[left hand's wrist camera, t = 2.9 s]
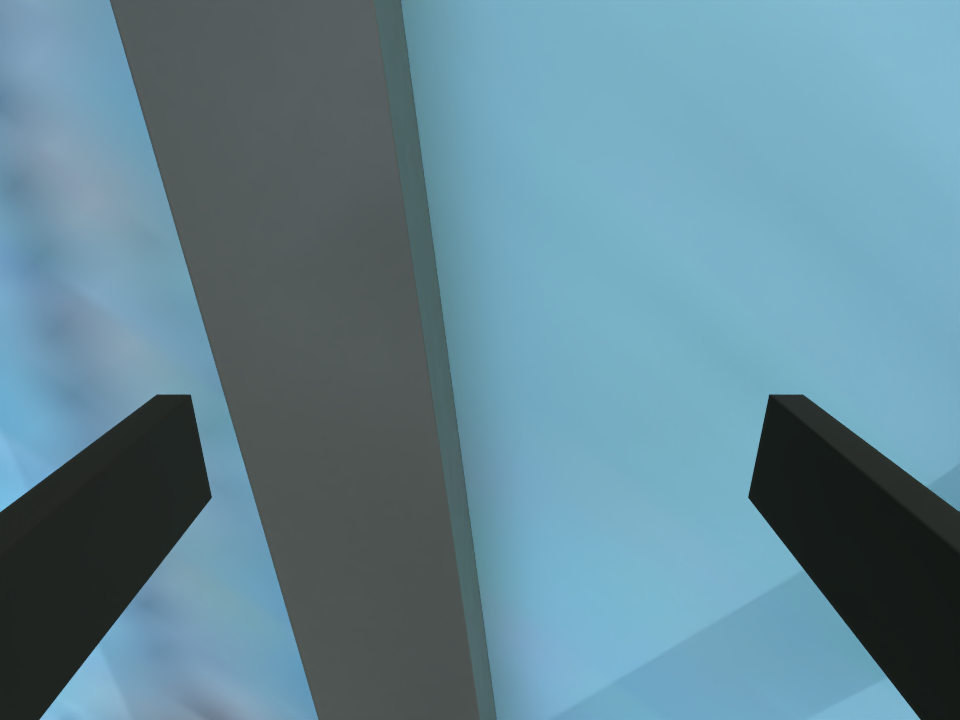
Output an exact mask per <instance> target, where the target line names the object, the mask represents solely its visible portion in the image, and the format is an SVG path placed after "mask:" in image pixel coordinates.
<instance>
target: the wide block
mask: <svg viewBox="0 0 960 720" xmlns="http://www.w3.org/2000/svg"><path fill="white" fill-rule="evenodd" d="M110 2H111V6H112V9H113V12H114V16H115V19H116V23H117V26H118V30H119V33H120V37H121V40H122V43H123V47H124V50H125V54H126V57H127V61H128V64H129V68H130V71H131V74H132V78H133V81H134V85H135V88H136V92H137V95H138V99H139V102H140V105H141V109H142V112H143V116H144V119H145V123H146V126H147V130H148V133H149V136H150V140H151V143H152V147H153V150H154V154H155V157H156V161H157V164H158V168H159V171H160V174H161V178H162V181H163V185H164V188H165V192H166V195H167V199H168V202H169V205H170V209H171V212H172V216H173V219H174V223H175V226H176V230H177V233H178V236H179V240H180V243H181V247H182V250H183V254H184V257H185V261H186V264H187V267H188V271H189V274H190V278H191V281H192V285H193V288H194V292H195V295H196V298H197V302H198V305H199V309H200V312H201V316H202V319H203V323H204V326H205V330H206V333H207V336H208V340H209V343H210V347H211V350H212V354H213V357H214V361H215V364H216V367H217V371H218V374H219V378H220V381H221V385H222V388H223V392H224V395H225V398H226V402H227V405H228V409H229V412H230V416H231V419H232V423H233V426H234V429H235V433H236V436H237V440H238V443H239V447H240V450H241V454H242V457H243V460H244V464H245V467H246V471H247V474H248V478H249V481H250V485H251V488H252V492H253V495H254V498H255V502H256V505H257V509H258V512H259V516H260V519H261V523H262V526H263V529H264V533H265V536H266V540H267V543H268V547H269V550H270V554H271V557H272V560H273V564H274V567H275V571H276V574H277V578H278V581H279V585H280V588H281V591H282V595H283V598H284V602H285V605H286V609H287V612H288V616H289V619H290V622H291V626H292V629H293V633H294V636H295V640H296V643H297V647H298V650H299V654H300V657H301V660H302V664H303V667H304V671H305V674H306V678H307V681H308V685H309V688H310V691H311V695H312V698H313V702H314V705H315V709H316V712H317V716H318V719H319V720H497V719H496V712H495V704H494V697H493V689H492V682H491V674H490V667H489V659H488V652H487V644H486V637H485V629H484V622H483V614H482V607H481V599H480V592H479V584H478V577H477V569H476V562H475V554H474V547H473V539H472V532H471V524H470V517H469V509H468V502H467V494H466V487H465V479H464V472H463V464H462V457H461V449H460V442H459V434H458V427H457V419H456V412H455V404H454V397H453V389H452V382H451V374H450V367H449V359H448V352H447V344H446V337H445V329H444V322H443V314H442V307H441V299H440V292H439V284H438V277H437V269H436V262H435V254H434V247H433V239H432V232H431V224H430V217H429V209H428V202H427V194H426V187H425V179H424V172H423V164H422V157H421V149H420V142H419V134H418V127H417V119H416V112H415V104H414V97H413V89H412V82H411V74H410V67H409V59H408V52H407V44H406V37H405V29H404V22H403V14H402V7H401V0H110Z"/></svg>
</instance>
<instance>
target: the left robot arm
mask: <svg viewBox="0 0 960 720" xmlns="http://www.w3.org/2000/svg"><path fill="white" fill-rule="evenodd" d="M211 498H212V496H211V491H210V487H209V482H208V477H207V472H206V467H205V462H204V457H203V452H202V448H201V443H200V438H199V433H198V428H197V423H196V418H195V413H194V409H193V404H192V399H191V395H156V396H155V397H153V398H152V399H151V400H149V401H148V402H147V403H145V404H144V405H143V406H141V407H140V408H139V409H137V410H136V411H135V412H133V413H132V414H131V415H129V416H128V417H127V418H125V419H124V420H123V421H121V422H120V423H119V424H117V425H116V426H115V427H113V428H112V429H111V430H109V431H108V432H107V433H105V434H104V435H103V436H101V437H100V438H99V439H97V440H96V441H95V442H93V443H92V444H91V445H89V446H88V447H87V448H85V449H84V450H83V451H81V452H80V453H79V454H77V455H76V456H75V457H73V458H72V459H71V460H69V461H68V462H67V463H65V464H64V465H63V466H61V467H60V468H59V469H57V470H56V471H55V472H53V473H52V474H51V475H49V476H48V477H47V478H45V479H44V480H43V481H41V482H40V483H39V484H37V485H36V486H35V487H33V488H32V489H31V490H29V491H28V492H27V493H25V494H24V495H23V496H21V497H20V498H19V499H17V500H16V501H15V502H13V503H12V504H11V505H9V506H8V507H7V508H5V509H4V510H3V511H1V512H0V720H39V719H40V718H41V717H42V716H43V714H44V713H45V712H46V710H47V709H48V708H49V707H50V705H51V704H52V703H53V701H54V700H55V699H56V698H57V696H58V695H59V694H60V692H61V691H62V690H63V689H64V687H65V686H66V685H67V683H68V682H69V681H70V679H71V678H72V677H73V676H74V674H75V673H76V672H77V670H78V669H79V668H80V667H81V665H82V664H83V663H84V661H85V660H86V659H87V658H88V656H89V655H90V654H91V652H92V651H93V650H94V649H95V647H96V646H97V645H98V643H99V642H100V641H101V640H102V638H103V637H104V636H105V634H106V633H107V632H108V631H109V629H110V628H111V627H112V625H113V624H114V623H115V622H116V620H117V619H118V618H119V616H120V615H121V614H122V613H123V611H124V610H125V609H126V607H127V606H128V605H129V603H130V602H131V601H132V600H133V598H134V597H135V596H136V594H137V593H138V592H139V591H140V589H141V588H142V587H143V585H144V584H145V583H146V582H147V580H148V579H149V578H150V576H151V575H152V574H153V573H154V571H155V570H156V569H157V567H158V566H159V565H160V564H161V562H162V561H163V560H164V558H165V557H166V556H167V555H168V553H169V552H170V551H171V549H172V548H173V547H174V546H175V544H176V543H177V542H178V540H179V539H180V538H181V537H182V535H183V534H184V533H185V531H186V530H187V529H188V527H189V526H190V525H191V524H192V522H193V521H194V520H195V518H196V517H197V516H198V515H199V513H200V512H201V511H202V509H203V508H204V507H205V506H206V504H207V503H208V502H209V500H210V499H211ZM748 498H749V499H750V500H751V502H752V503H753V504H754V506H755V507H756V508H757V509H758V511H759V512H760V513H761V515H762V516H763V517H764V518H765V520H766V521H767V522H768V524H769V525H770V526H771V527H772V529H773V530H774V531H775V533H776V534H777V535H778V537H779V538H780V539H781V540H782V542H783V543H784V544H785V546H786V547H787V548H788V549H789V551H790V552H791V553H792V555H793V556H794V557H795V558H796V560H797V561H798V562H799V564H800V565H801V566H802V567H803V569H804V570H805V571H806V573H807V574H808V575H809V576H810V578H811V579H812V580H813V582H814V583H815V584H816V585H817V587H818V588H819V589H820V591H821V592H822V593H823V594H824V596H825V597H826V598H827V600H828V601H829V602H830V603H831V605H832V606H833V607H834V609H835V610H836V611H837V613H838V614H839V615H840V616H841V618H842V619H843V620H844V622H845V623H846V624H847V625H848V627H849V628H850V629H851V631H852V632H853V633H854V634H855V636H856V637H857V638H858V640H859V641H860V642H861V643H862V645H863V646H864V647H865V649H866V650H867V651H868V652H869V654H870V655H871V656H872V658H873V659H874V660H875V661H876V663H877V664H878V665H879V667H880V668H881V669H882V670H883V672H884V673H885V674H886V676H887V677H888V678H889V679H890V681H891V682H892V683H893V685H894V686H895V687H896V689H897V690H898V691H899V692H900V694H901V695H902V696H903V698H904V699H905V700H906V701H907V703H908V704H909V705H910V707H911V708H912V709H913V710H914V712H915V713H916V714H917V716H918V717H919V718H920V719H921V720H960V512H959V511H957V510H956V509H955V508H953V507H952V506H951V505H949V504H948V503H947V502H945V501H944V500H943V499H941V498H940V497H939V496H937V495H936V494H935V493H933V492H932V491H931V490H929V489H928V488H927V487H925V486H924V485H923V484H921V483H920V482H919V481H917V480H916V479H915V478H913V477H912V476H911V475H909V474H908V473H907V472H905V471H904V470H903V469H901V468H900V467H899V466H897V465H896V464H895V463H893V462H892V461H891V460H889V459H888V458H887V457H885V456H884V455H883V454H881V453H880V452H879V451H877V450H876V449H875V448H873V447H872V446H871V445H869V444H868V443H867V442H865V441H864V440H863V439H861V438H860V437H859V436H857V435H856V434H855V433H853V432H852V431H851V430H849V429H848V428H847V427H845V426H844V425H843V424H841V423H840V422H839V421H837V420H836V419H835V418H833V417H832V416H831V415H829V414H828V413H827V412H825V411H824V410H823V409H821V408H820V407H819V406H817V405H816V404H815V403H813V402H812V401H811V400H809V399H808V398H807V397H805V396H804V395H769V399H768V404H767V409H766V413H765V418H764V423H763V428H762V433H761V438H760V443H759V448H758V452H757V457H756V462H755V467H754V472H753V477H752V482H751V487H750V491H749V496H748Z"/></svg>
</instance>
